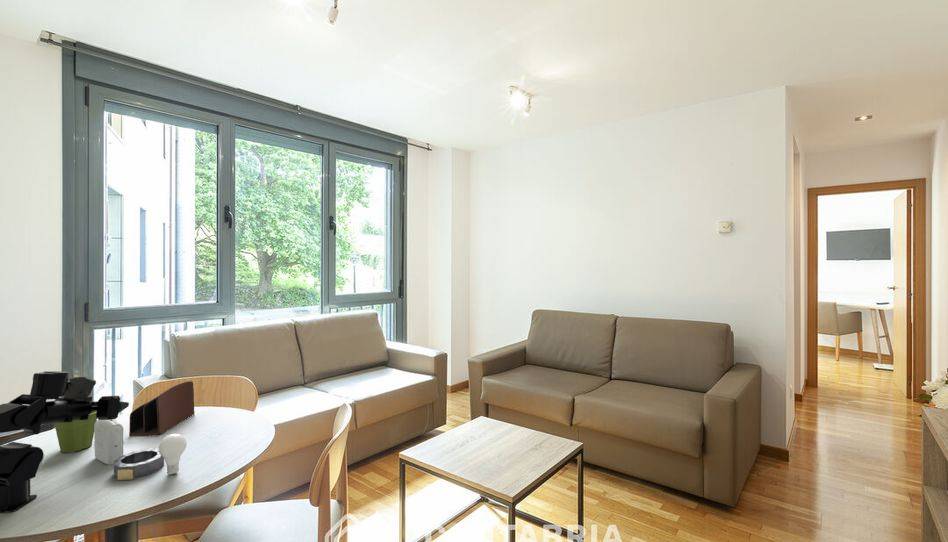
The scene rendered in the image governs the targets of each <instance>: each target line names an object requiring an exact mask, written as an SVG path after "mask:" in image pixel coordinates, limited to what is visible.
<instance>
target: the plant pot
mask: <svg viewBox="0 0 948 542" xmlns="http://www.w3.org/2000/svg"><path fill="white" fill-rule="evenodd" d="M96 413H97V410H93V411H91V413H90V414H89V416H88V420H74V421H72V422H60V423H53V424H52V425H53V426H54V427H55V428H54V429H55V431H56V437H57V441H58V446H59V449H60V452H63V453H67V452H69V453H75V452H79V451H82V450H84V449H88V448H90V447H91V446H92V445H93V442H94V441H93V439H94V425H95V422H96V421H97V420H98V419H97V418H96Z"/></svg>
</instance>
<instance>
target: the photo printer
mask: <svg viewBox="0 0 948 542" xmlns="http://www.w3.org/2000/svg"><path fill="white" fill-rule="evenodd" d="M93 439H94V441H93V443H94V457H95V459H96V460H98V461H100V462H101V463H103V464H105V465H110V466H111V465H113V466H114V461H115V460H116V459H118V458H119V457H120V456H123V455H124V426H123V425H122V423H121V422H120V421H119V420H118V419H117V418H116V419H112V420H98V419H97V421H96V422H95V425H94V436H93Z"/></svg>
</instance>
